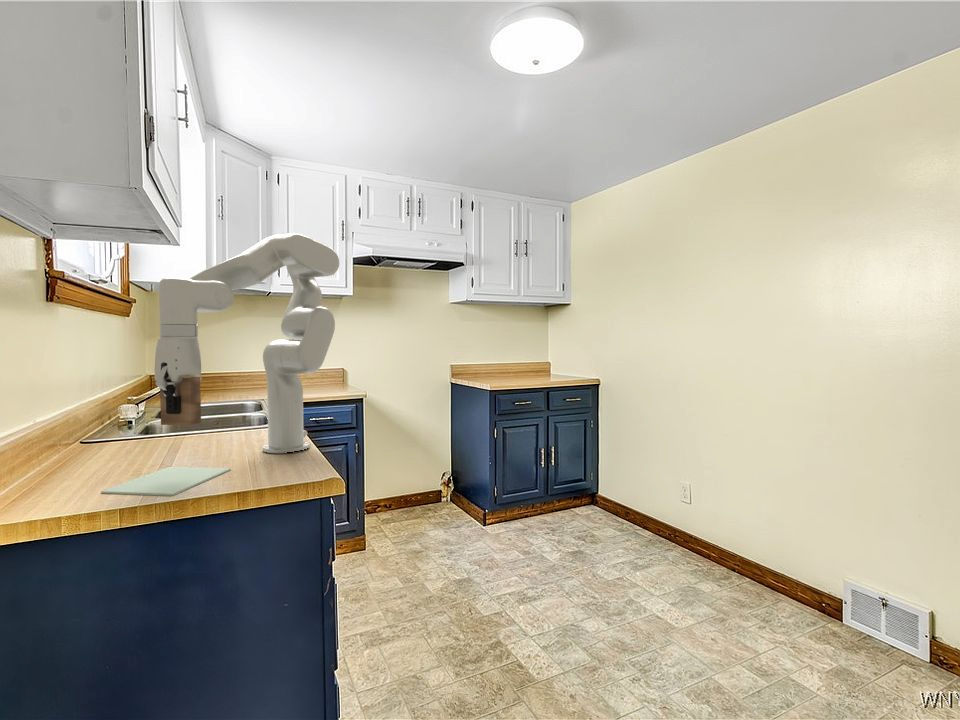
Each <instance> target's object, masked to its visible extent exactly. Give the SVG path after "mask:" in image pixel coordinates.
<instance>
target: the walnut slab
mask: <svg viewBox="0 0 960 720" xmlns="http://www.w3.org/2000/svg"><path fill="white" fill-rule="evenodd" d="M170 382H172V381H171V380H170ZM171 387H172V388H174V385H171ZM159 395H160V396H159V399H160V401H159V402H160V404H159V405H160V406H159V407H160V425H161V426H193V425H197V424H200V423H202V403H201V400H202V399H201V397H202V396H201V382H200V375H192V376H183V380H182V382H180V386H179V395H178V396H181V413H180V414H167V413H166V396H164V392H163V391H162V390H161V389H160V388H159Z"/></svg>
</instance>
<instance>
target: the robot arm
mask: <svg viewBox="0 0 960 720" xmlns="http://www.w3.org/2000/svg"><path fill="white" fill-rule="evenodd" d="M283 267H286V270H287V273H288V274H289V276H290V279H291V283H292V287H293V289H292V295H291V297H290V300H289V302H288V305H287V308H286V309H285V312H284V314H283V317H282V320H281V325H280V326H281V327H280V329H281V332H282V334H283V335H284V336H285V337H287V338H288V339H287V338H286V339H276V340H272V341H271V342H269V343H267V345H265V348H264V350H263V353H262V362H263V367H264V371H265V375H266V385H267V391H266V392H267V439H268V443H266V444H264V445H263V446H262V452H264V453H266V452H267V454H288V453H287V452H293V453H295V452H294V451H299V450H303V449H306V450H308V449H309V448H310V443H309V442H308V441H304V439H305V437H307V436H308V431H307V430H306V429H304V389H303V383H302V381H301V378H300V376H299V374H307V375H308V374H313V373H316V372H317V371H319V370H320V369H321V367H322V365H323V364H324V362H325V359H326V356H327V353H328V351H329V348H330V345H331V342H332V339H333V337H334V333H335V329H336V321H335V317H334V314H333V313H332V312H331V310H330V309H328V308H327V307H325V306H321V304H322V300H323V294H322V290H321V288H320V286H319V284H318V281H317V280H316V278H318V277H319V278H320V277H321V278H323V277H331V276H332V275H334V274H336V273H337V271H338V270H339V267H340V258H339V255H338V253H337V252H336V251H335V250H334V248H331V247H330V246H328V245H326V244H324V243H322V242H320V241H318V240H315V239H313V238H311V237H308V236H306V235H303V234H300V233H286V234H274V235H271V236H268V237H266V238H264V239H262V240H261V241H260V242H258V243H256V244H255V245H252V246H251V247H250V248H248V249H246V250H245V251H243V252H242V253H241V254H238V255H236V256H234V257H232V258H229V259H227V260H225V261H223V262H220V263H218V264H216V265H213V266H210V267H209V268H207V269H204V270H202V271H200V272H198V273H197V274H194V275H193V276H191V277H190V278H182V277H166V278H162V279H161V280H160V281H159V283H158V307H159V308H158V310H159V312H158V313H159V338H158V339H157V343H156V348H155V354H154V355H155V358H154V380H155V385H156V386H157V387H158V388H159V390H160V389H161V390H162V391H163V392H164V396H166V413H167V414H180V413H181V396H178V395H179V386H180V382H182V380H183V376H192V375H200V383H201V382H202V381H203V377H202V361H201V359H202V357H201V349H200V343H199V330H198V329H199V328H198V327H199V324H198V322H199V321H198V319H199V318H198V313H220V312H224V311H227V310H228V309H229V308H231V307H232V305H233V303H234V302H235V294H234V292H233V291H238V290H242V289H246V288H247V289H248V288H250V287H254V286H256V285H259V284H261V283H262V282H263V281H264V280H266V279H267V278H268V277H270V276H272V275H273V274H274V273H276V272H277V271H279V270H280V269H281V268H283ZM170 380H171V381H172V382H170ZM171 385H174V388H172V387H171ZM307 448H308V449H307ZM303 451H304V450H303ZM299 452H300V451H299Z"/></svg>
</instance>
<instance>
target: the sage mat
mask: <svg viewBox="0 0 960 720" xmlns="http://www.w3.org/2000/svg"><path fill="white" fill-rule="evenodd" d="M229 471H232V469H231V467H230V468H226V467H198V466H197V467H195V466H194V467H192V466H191V467H190V466H189V467H188V466H168V467H167V466H166V467H164V468H162V469H161V468H160V469H159V470H156V471H154V472H151V473H147V474H146V475H145V474H144V475H142V476H140V477H136V478H133V479H131V480H128V481H125V482H123V483H120V484H117V485H115V486H114V485H113V486H111V487H109V488H106V489H104V490H101V491H100V493H101V494H108V495H110V494H112V495H113V494H115V495H117V494H118V495H138V496H139V495H145V496H170V497H173V496H175V495H178V494H180V493H182V492H185V491H187V490H189V489H191V488H193V487H196V486H198V485H200V484H203V483H205V482H208V481H209V480H212V479H215V478H216V477H218V476H221V475H222V474H225V473H227V472H229Z"/></svg>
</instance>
